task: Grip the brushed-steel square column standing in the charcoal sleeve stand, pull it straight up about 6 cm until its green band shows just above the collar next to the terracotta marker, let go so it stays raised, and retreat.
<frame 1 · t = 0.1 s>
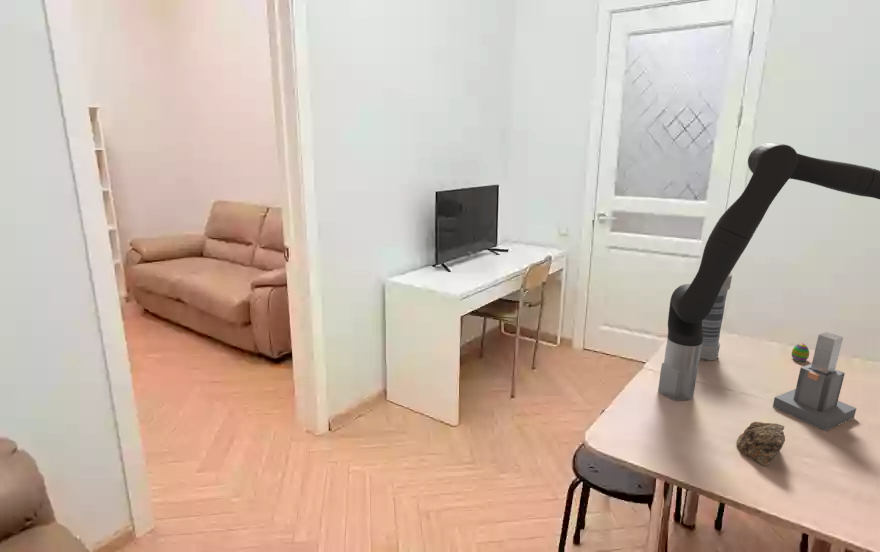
egg: (798, 360, 181), on the table
stand: (812, 412, 149), on the table
rock: (758, 452, 132), on the table
column: (822, 369, 145), point 13 cm above the table, slide at 0.0 cm
canister: (701, 355, 184), on the table
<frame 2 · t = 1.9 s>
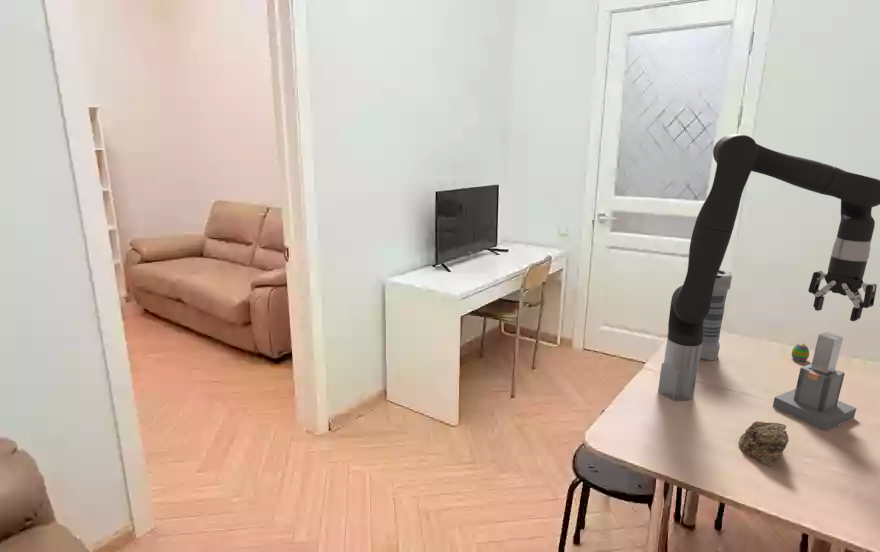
hand: (835, 315, 141), 29 cm above the table, tool pointing down, fingers open, 8 cm apart
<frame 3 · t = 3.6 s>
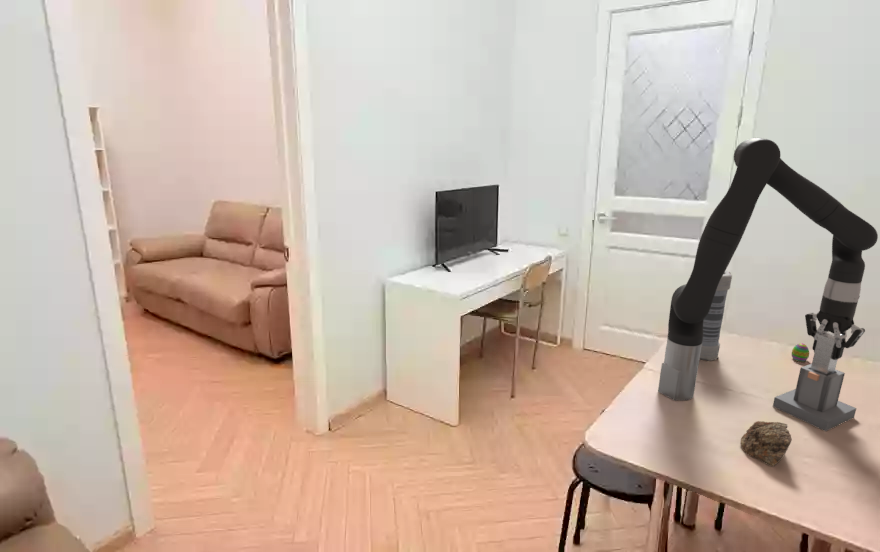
hand: (826, 355, 144), 17 cm above the table, tool pointing down, fingers closed on column, 4 cm apart
column: (822, 369, 145), point 13 cm above the table, slide at 0.0 cm, touching gripper
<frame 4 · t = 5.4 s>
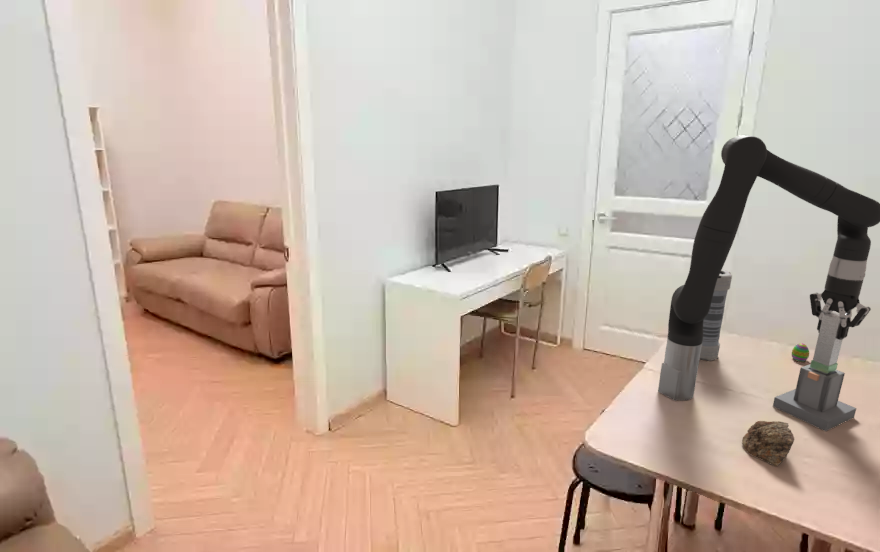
hand: (831, 335, 142), 23 cm above the table, tool pointing down, fingers closed on column, 4 cm apart
column: (827, 350, 144), point 19 cm above the table, slide at 5.8 cm, touching gripper
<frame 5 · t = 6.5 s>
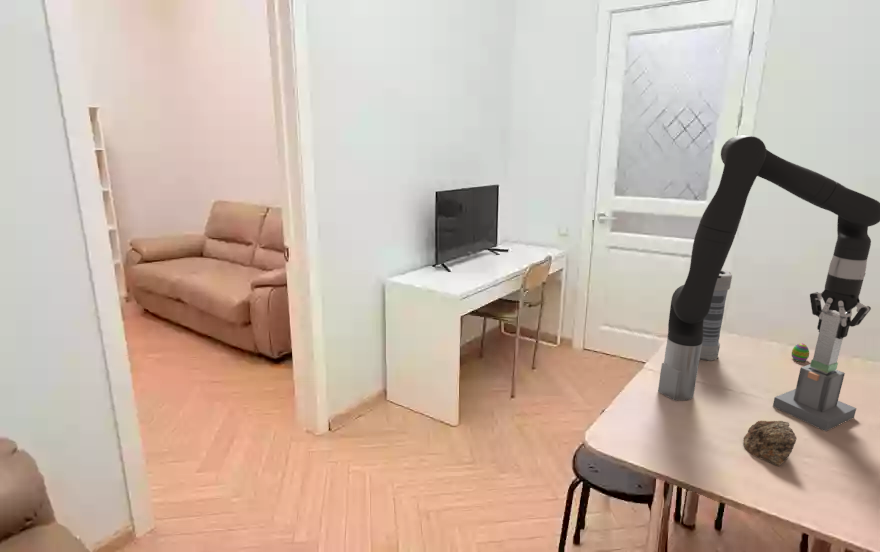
hand: (831, 334, 142), 23 cm above the table, tool pointing down, fingers closed on column, 4 cm apart
column: (827, 349, 144), point 19 cm above the table, slide at 6.0 cm, touching gripper
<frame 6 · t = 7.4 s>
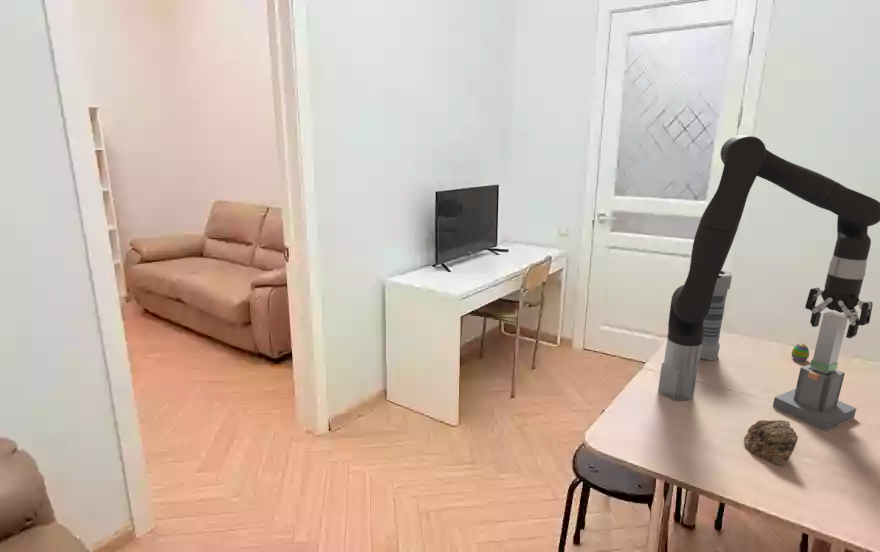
hand: (831, 331, 142), 24 cm above the table, tool pointing down, fingers open, 8 cm apart
column: (827, 349, 144), point 19 cm above the table, slide at 6.0 cm
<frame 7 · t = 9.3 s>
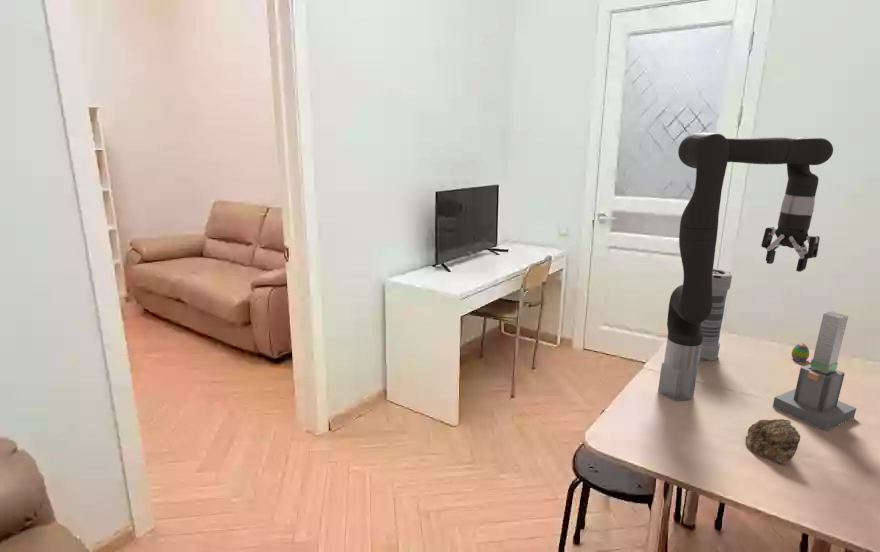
hand: (784, 267, 153), 38 cm above the table, tool pointing down, fingers open, 8 cm apart
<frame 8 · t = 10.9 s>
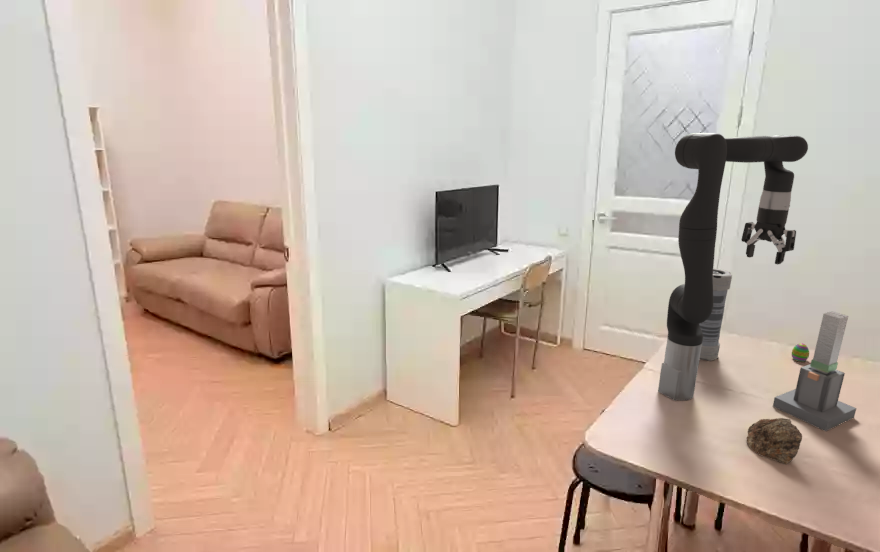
hand: (763, 260, 159), 38 cm above the table, tool pointing down, fingers open, 8 cm apart
at the end: column slide at 6.0 cm; the gripper is holding nothing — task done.
